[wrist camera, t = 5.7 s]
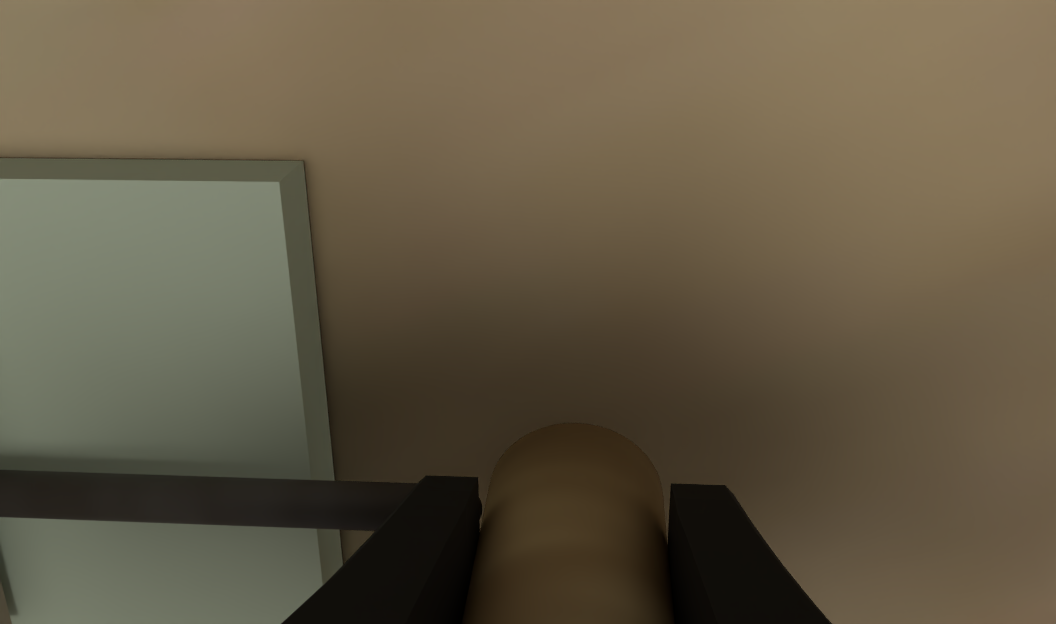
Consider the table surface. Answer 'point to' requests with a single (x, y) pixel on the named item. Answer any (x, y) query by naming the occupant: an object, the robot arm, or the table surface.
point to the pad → (160, 381)
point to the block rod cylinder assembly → (510, 512)
